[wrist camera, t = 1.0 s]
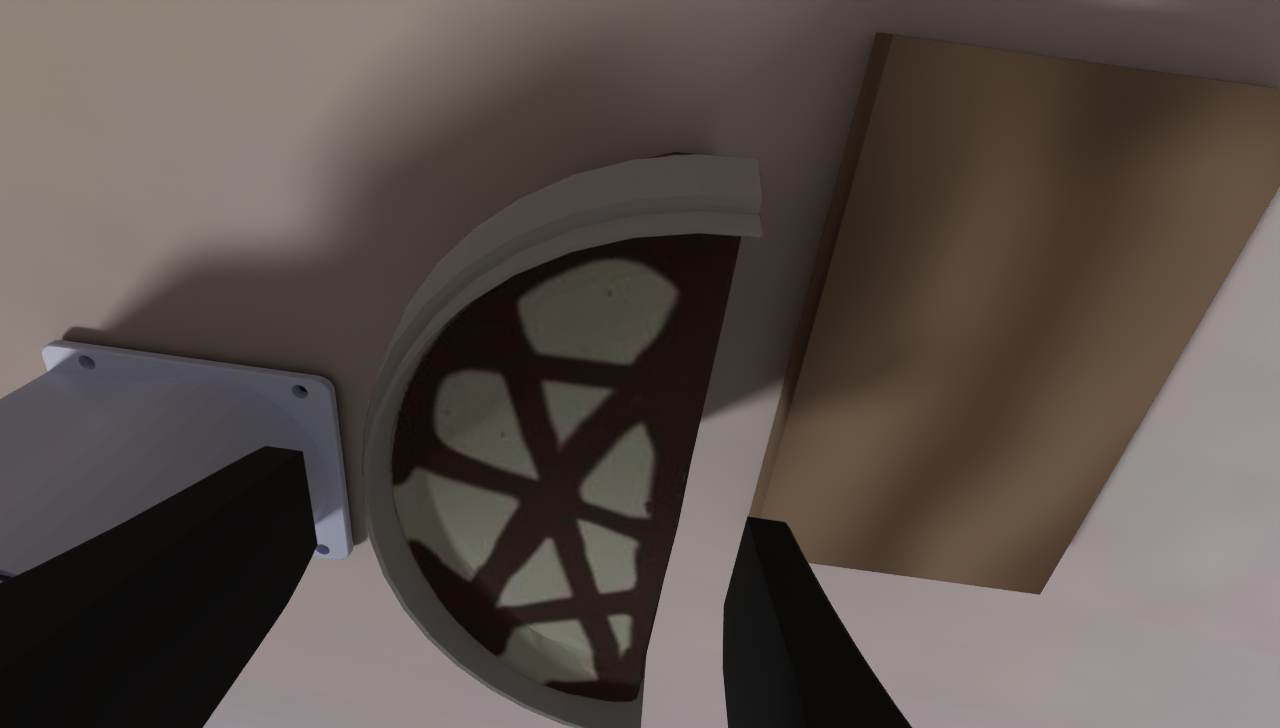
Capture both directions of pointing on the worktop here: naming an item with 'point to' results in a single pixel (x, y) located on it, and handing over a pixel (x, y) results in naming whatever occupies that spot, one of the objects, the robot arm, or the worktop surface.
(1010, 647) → the worktop surface
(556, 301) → the food container
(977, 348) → the walnut base
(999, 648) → the worktop surface
